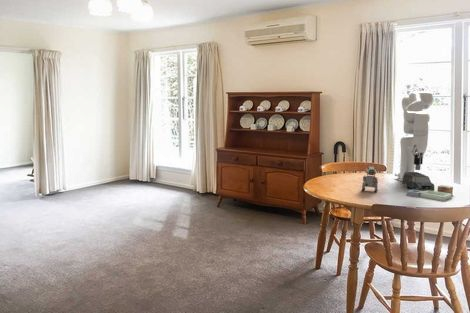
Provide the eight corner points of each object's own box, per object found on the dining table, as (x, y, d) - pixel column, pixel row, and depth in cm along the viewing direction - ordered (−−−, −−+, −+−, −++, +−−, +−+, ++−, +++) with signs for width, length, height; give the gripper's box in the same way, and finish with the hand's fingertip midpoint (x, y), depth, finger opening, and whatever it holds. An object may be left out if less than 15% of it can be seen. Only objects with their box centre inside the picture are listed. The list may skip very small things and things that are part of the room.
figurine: (379, 189, 266) (380, 166, 264) (375, 193, 256) (377, 169, 254) (364, 188, 271) (365, 165, 269) (360, 191, 261) (361, 167, 259)
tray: (419, 196, 249) (419, 192, 248) (427, 193, 256) (428, 189, 255) (443, 201, 238) (443, 196, 238) (451, 198, 245) (451, 194, 245)
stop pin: (413, 169, 250) (414, 154, 249) (416, 168, 252) (417, 154, 251) (419, 170, 247) (420, 155, 246) (422, 169, 250) (423, 154, 248)
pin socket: (406, 195, 253) (406, 190, 252) (411, 193, 257) (412, 189, 257) (417, 197, 247) (418, 192, 247) (423, 195, 252) (423, 191, 251)
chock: (437, 193, 257) (437, 185, 256) (440, 192, 260) (441, 185, 259) (448, 196, 251) (449, 187, 251) (452, 195, 254) (452, 187, 253)
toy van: (417, 194, 256) (419, 178, 254) (401, 185, 280) (402, 171, 279) (435, 194, 256) (436, 178, 255) (416, 185, 281) (417, 171, 279)
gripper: (420, 132, 255) (418, 162, 257) (407, 133, 244) (405, 164, 247) (432, 133, 249) (430, 163, 252) (419, 134, 239) (417, 166, 241)
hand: (418, 164), depth 249 cm, fingers closed on stop pin, 2 cm apart
